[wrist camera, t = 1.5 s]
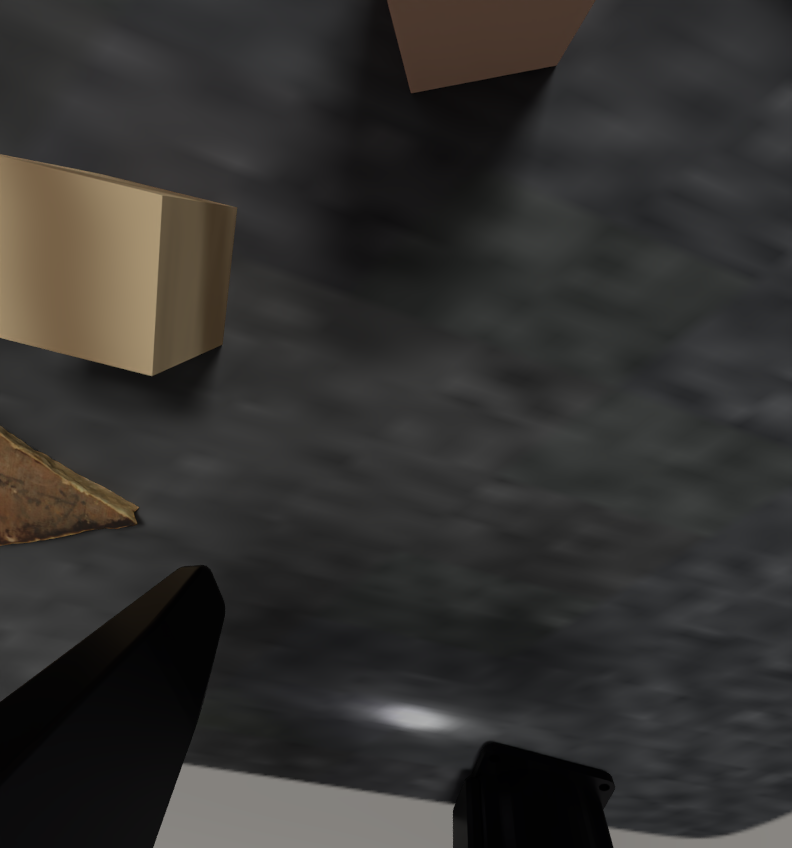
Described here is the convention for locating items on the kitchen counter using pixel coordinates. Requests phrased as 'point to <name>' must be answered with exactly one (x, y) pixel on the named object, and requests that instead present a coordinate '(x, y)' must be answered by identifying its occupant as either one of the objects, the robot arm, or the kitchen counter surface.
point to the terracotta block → (481, 37)
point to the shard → (51, 497)
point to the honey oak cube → (111, 267)
